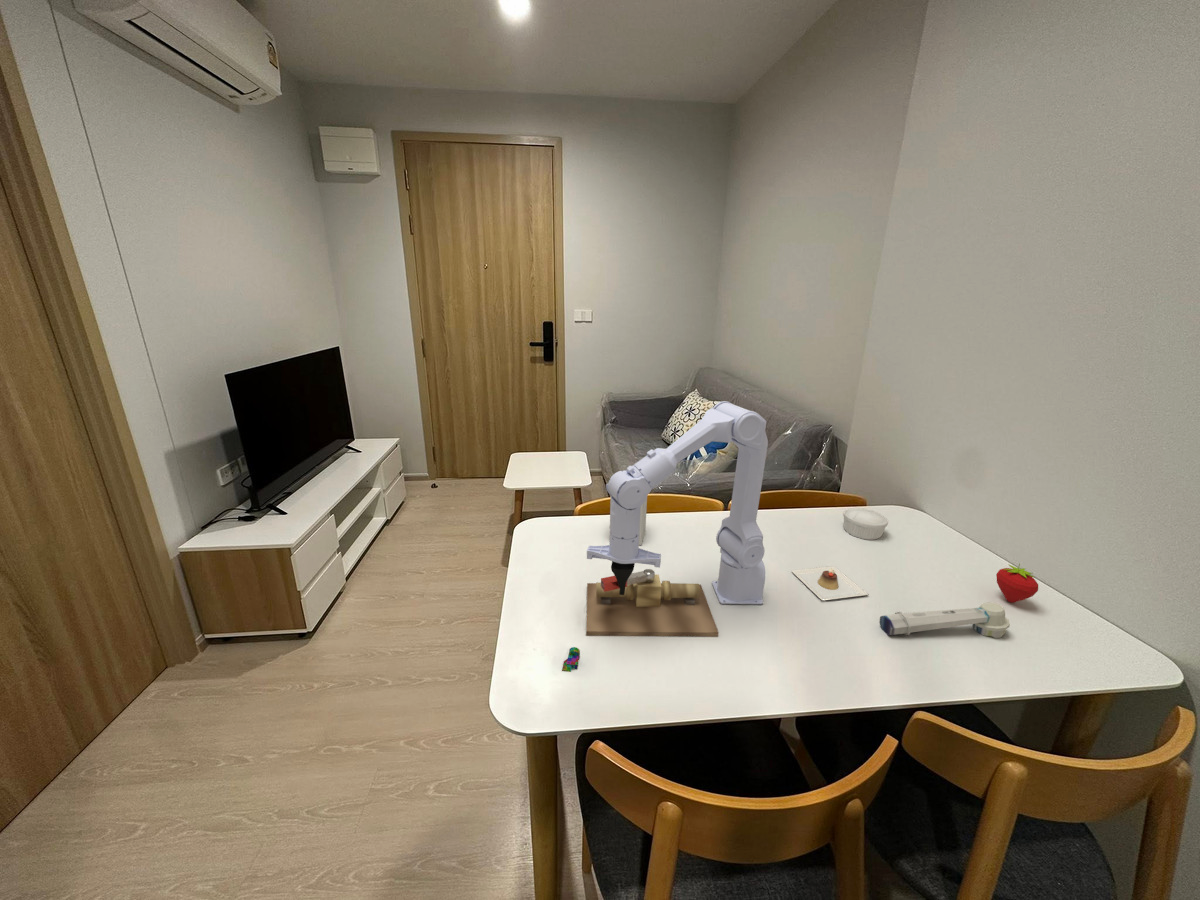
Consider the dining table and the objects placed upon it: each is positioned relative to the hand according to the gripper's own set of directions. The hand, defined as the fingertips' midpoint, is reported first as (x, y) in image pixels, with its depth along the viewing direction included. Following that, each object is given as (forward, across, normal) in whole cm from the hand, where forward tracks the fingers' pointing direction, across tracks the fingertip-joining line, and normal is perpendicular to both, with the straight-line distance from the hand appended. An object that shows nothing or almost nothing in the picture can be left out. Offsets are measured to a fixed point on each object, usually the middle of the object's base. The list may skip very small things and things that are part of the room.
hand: (622, 592), depth 95 cm
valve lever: (0, -1, -3) cm, 3 cm away
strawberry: (+7, -85, -25) cm, 88 cm away
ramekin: (+7, -62, -53) cm, 82 cm away
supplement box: (+6, +3, -35) cm, 36 cm away
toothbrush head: (+7, -65, -10) cm, 66 cm away
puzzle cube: (+7, +7, +14) cm, 17 cm away
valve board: (+6, -5, -4) cm, 9 cm away
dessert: (+7, -46, -23) cm, 52 cm away
